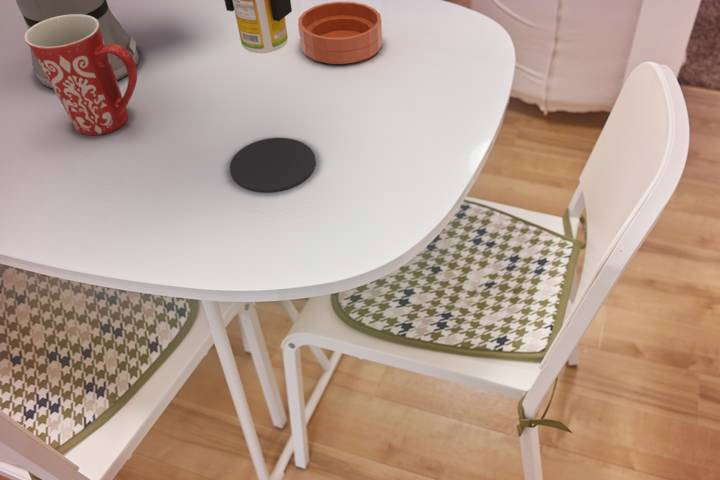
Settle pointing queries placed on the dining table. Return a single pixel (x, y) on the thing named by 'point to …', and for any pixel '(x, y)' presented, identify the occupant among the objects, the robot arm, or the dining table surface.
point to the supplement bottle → (259, 26)
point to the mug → (83, 71)
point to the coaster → (272, 164)
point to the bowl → (340, 32)
